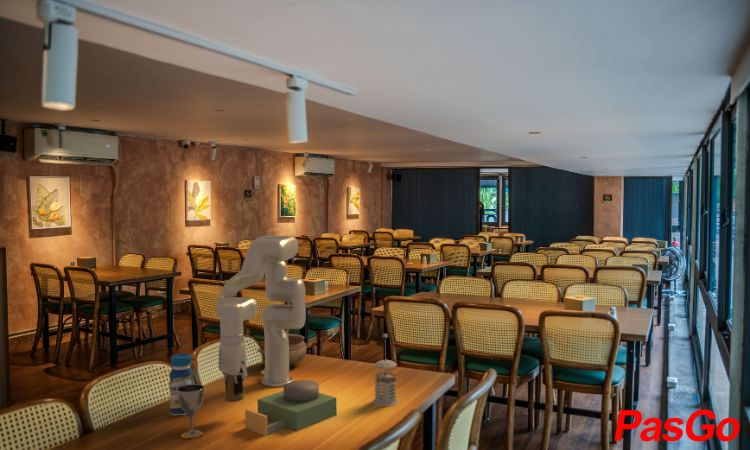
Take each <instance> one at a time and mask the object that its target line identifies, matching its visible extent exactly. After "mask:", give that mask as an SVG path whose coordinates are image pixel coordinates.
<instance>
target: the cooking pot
mask: <svg viewBox="0 0 750 450" xmlns="http://www.w3.org/2000/svg"><path fill="white" fill-rule="evenodd" d="M286 334H287V336H288V340H289V368H291V367H293V366H295V365H297V364H298V363H299V362H301V361H302V360H303V359H304V358H305V357H306V353H307V349H308V348H310V347H311V346H312V343H311V342H306V343H305V341H304V340H305V336H303V335H300V334H296V333H295V334H293V333H286ZM257 352H258V353H260V354H263V357H264V358H265V345H264V346H263V349H260V348H258V349H257Z"/></svg>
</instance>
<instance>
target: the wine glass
mask: <svg viewBox="0 0 750 450" xmlns="http://www.w3.org/2000/svg"><path fill="white" fill-rule="evenodd" d="M204 394H205V386H204V384H200V383H194V384H188V385H183V386H181V387H179V388H178V400H179V404H180V407H181V408H182V409H183V410H184V411H185V412H186V413H187V414H188V419H189V425H190V427H189V429H190V430H187V431H188V432H186V431H185V432H186V433H185V434H186V435H188V436H191V435H197V434H200V431H197V430H198V429H194V418H195V414H196V413H197V412H198V411H199V409H200V408H201V406H202V405H203V401H204V396H205V395H204Z"/></svg>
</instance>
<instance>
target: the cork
mask: <svg viewBox="0 0 750 450" xmlns="http://www.w3.org/2000/svg"><path fill="white" fill-rule="evenodd" d="M239 373H240V372H239ZM226 376H227V377H228V378H227V388H225V401H226V402H228V403H235V402H240V401H242V400H244V398H245V397H244V392H243V393H238V395H234V383H235V379H234V376H233V375H230V374H227V373H226ZM239 376H240V375H238V378H239Z"/></svg>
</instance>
